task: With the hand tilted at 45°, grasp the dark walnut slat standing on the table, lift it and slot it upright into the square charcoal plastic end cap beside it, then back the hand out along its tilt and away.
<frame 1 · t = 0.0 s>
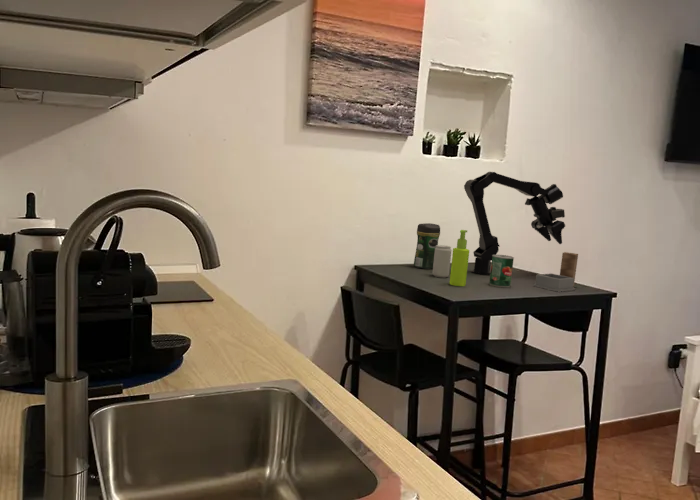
hand: (555, 242, 269), 15 cm above the table, tool tilted 35°, fingers open, 9 cm apart
canned tomato: (499, 285, 240), on the table
soap dispenser: (457, 284, 234), on the table
coffee jar: (424, 268, 267), on the table
charcoal end cap: (553, 287, 244), on the table
beverage can: (440, 276, 249), on the table
walnut slat: (566, 286, 251), on the table
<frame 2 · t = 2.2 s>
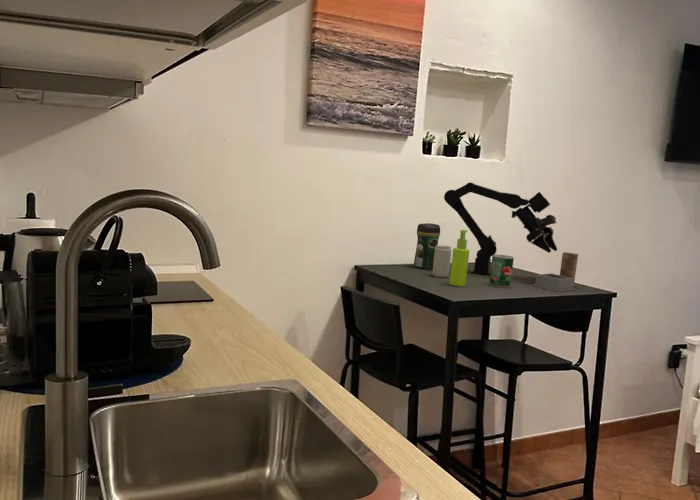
hand: (553, 251, 253), 13 cm above the table, tool tilted 45°, fingers open, 9 cm apart
nothing on the table moved.
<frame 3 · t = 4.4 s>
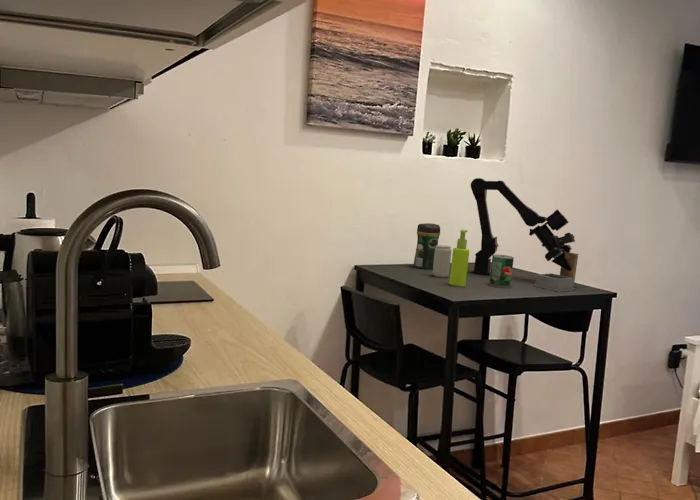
hand: (572, 269, 250), 7 cm above the table, tool tilted 45°, fingers closed on walnut slat, 4 cm apart
walnut slat: (566, 285, 251), on the table, touching gripper
everything else where it was.
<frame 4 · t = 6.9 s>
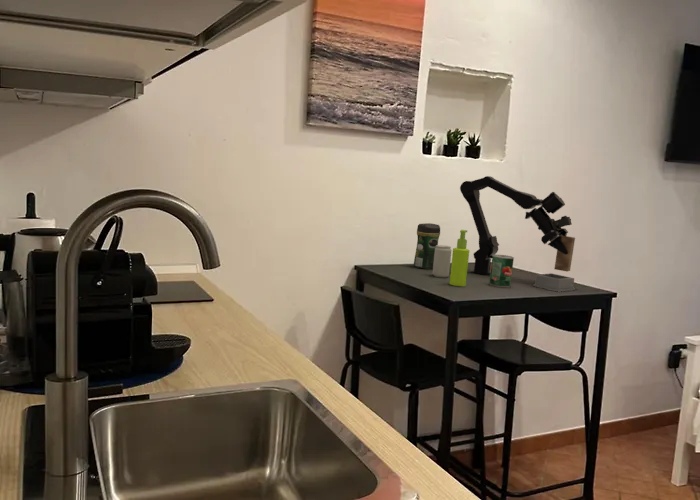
hand: (568, 253, 246), 13 cm above the table, tool tilted 45°, fingers closed on walnut slat, 4 cm apart
walnut slat: (562, 270, 247), point 7 cm above the table, touching gripper
everything else where it was.
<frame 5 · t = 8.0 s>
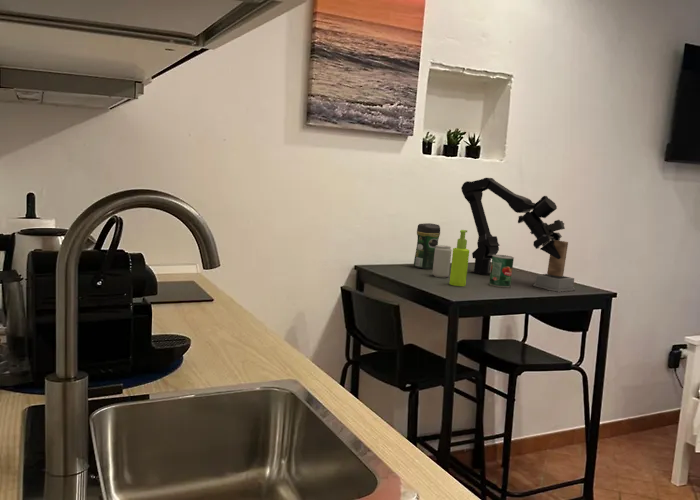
hand: (561, 258, 242), 12 cm above the table, tool tilted 45°, fingers closed on walnut slat, 4 cm apart
walnut slat: (555, 274, 244), point 5 cm above the table, touching gripper
everything else where it was.
when the fingers open (8 cm above the table, at t = 9.0 s): walnut slat stays where it is, resting on charcoal end cap.
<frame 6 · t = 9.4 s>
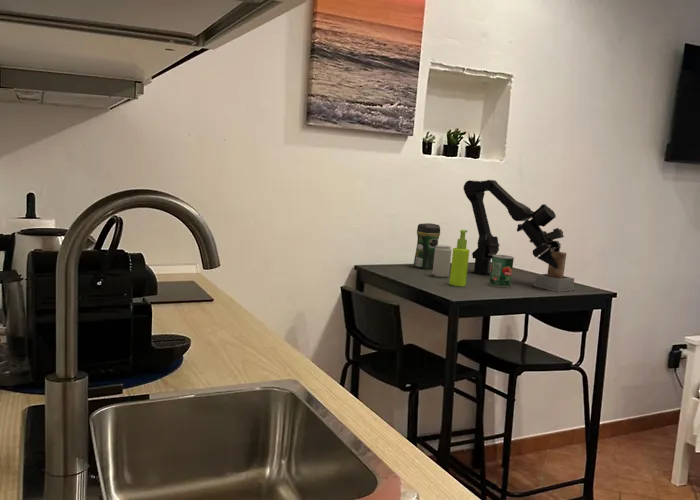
hand: (560, 266, 242), 9 cm above the table, tool tilted 45°, fingers open, 9 cm apart
walnut slat: (553, 285, 244), point 1 cm above the table, touching charcoal end cap
everything else where it was.
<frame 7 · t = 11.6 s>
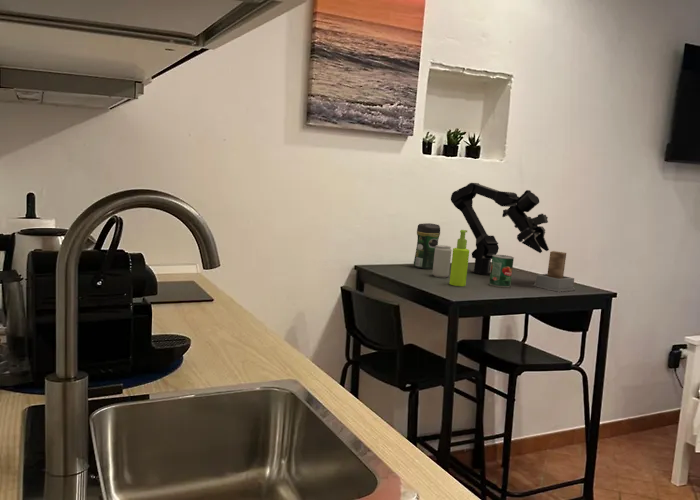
hand: (544, 251, 245), 13 cm above the table, tool tilted 45°, fingers open, 9 cm apart
nothing on the table moved.
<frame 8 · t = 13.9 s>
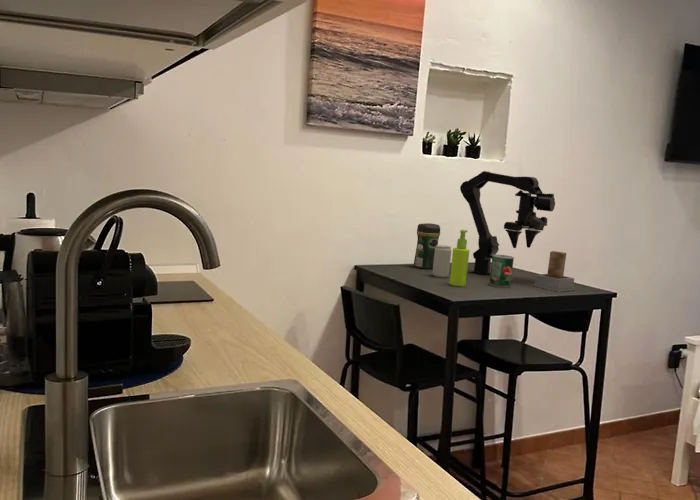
hand: (521, 247, 254), 13 cm above the table, tool pointing down, fingers open, 9 cm apart
nothing on the table moved.
at the end: walnut slat 0.1 cm off-centre on the charcoal end cap, point 0.8 cm above the charcoal end cap's base; walnut slat tilted 0°; the gripper is holding nothing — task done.
